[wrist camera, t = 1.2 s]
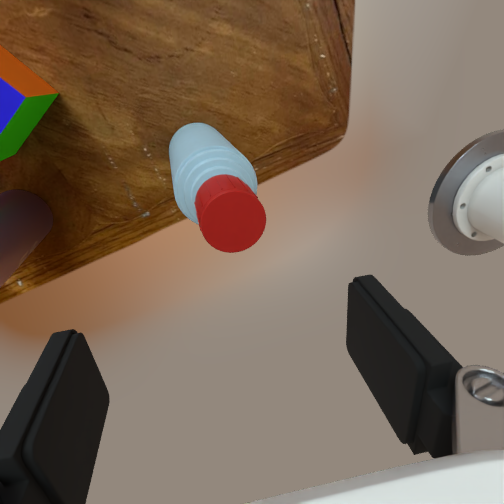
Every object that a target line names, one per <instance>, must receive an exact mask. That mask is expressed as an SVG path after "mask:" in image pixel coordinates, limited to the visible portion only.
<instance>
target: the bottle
mask: <svg viewBox="0 0 504 504" xmlns="http://www.w3.org/2000/svg"><path fill="white" fill-rule="evenodd" d="M169 158H170V165H171V173H172V180H173V188H174V195H175V199H176V202H177V204H178V206H179V208H180V210H181V211H182V212H183V214H184V215H185V216H186V217H187V218H189V219H190V220H191V221H193V222H195V223H196V224H198V225H199V223H198V219H197V215H196V213H197V212H196V208H195V204H194V202H195V198H196V194H197V191H198V189H199V188H200V186H201V185H202V184H203V183H204V182H205V181H206V180H208V179H209V178H211V177H213V176H216V175H222V174H227V175H233V176H235V177H239V179H241V180H242V181H243V182H244V183H245V184H247V185H248V186H249V187H250V188H251V190H252V191H253V192H254V193H255V195H256V194H257V178H256V174H255V171H254V169H253V167H252V165H251V164H250V162H249V161H248V160H247V158H245V157H244V156H243V155H242V154H241V153H240V152H239V151H238V150H237V149H236V148H235V147H234V146H233V145H232V144H231V143H230V142H229V141H227V140H226V139H225V138H224V137H223V136H222V135H221V134H220V133H219V132H218V131H217V130H216V129H214V128H213V127H211V126H210V125H207V124H204V123H191V124H187V125H185V126H183V127H182V128H180V129H179V130H178V131H177V132H176V133H175V134H174V136H173V137H172V139H171V142H170V145H169Z"/></svg>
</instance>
